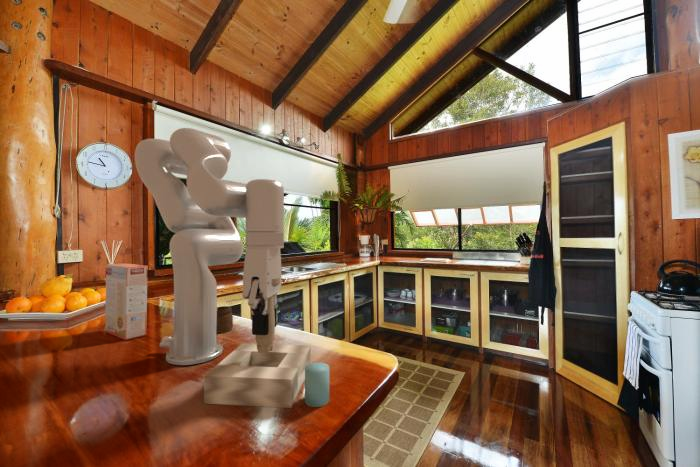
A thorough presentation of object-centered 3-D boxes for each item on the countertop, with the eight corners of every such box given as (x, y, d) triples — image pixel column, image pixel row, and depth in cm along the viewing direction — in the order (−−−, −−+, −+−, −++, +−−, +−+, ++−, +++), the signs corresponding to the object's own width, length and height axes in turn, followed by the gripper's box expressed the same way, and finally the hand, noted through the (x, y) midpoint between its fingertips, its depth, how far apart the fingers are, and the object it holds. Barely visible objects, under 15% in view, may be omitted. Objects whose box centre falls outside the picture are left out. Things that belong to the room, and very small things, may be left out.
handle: (266, 358, 57) (266, 280, 57) (244, 351, 61) (245, 277, 61) (284, 350, 61) (285, 277, 61) (263, 343, 65) (263, 274, 65)
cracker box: (148, 335, 89) (148, 265, 89) (124, 341, 84) (124, 266, 84) (127, 327, 96) (127, 262, 96) (104, 332, 91) (104, 263, 91)
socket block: (204, 403, 54) (204, 375, 54) (242, 364, 70) (242, 343, 70) (291, 408, 52) (291, 379, 52) (310, 367, 68) (310, 345, 68)
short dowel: (302, 406, 53) (302, 372, 53) (307, 392, 58) (307, 361, 58) (327, 407, 53) (327, 373, 53) (330, 394, 57) (331, 362, 57)
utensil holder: (228, 333, 91) (228, 294, 91) (207, 333, 91) (207, 294, 91) (235, 327, 97) (236, 290, 97) (216, 327, 97) (216, 290, 97)
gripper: (262, 240, 70) (262, 318, 70) (227, 242, 53) (227, 345, 53) (293, 240, 69) (293, 319, 69) (268, 242, 52) (268, 346, 52)
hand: (264, 329), depth 61 cm, fingers closed on handle, 4 cm apart
